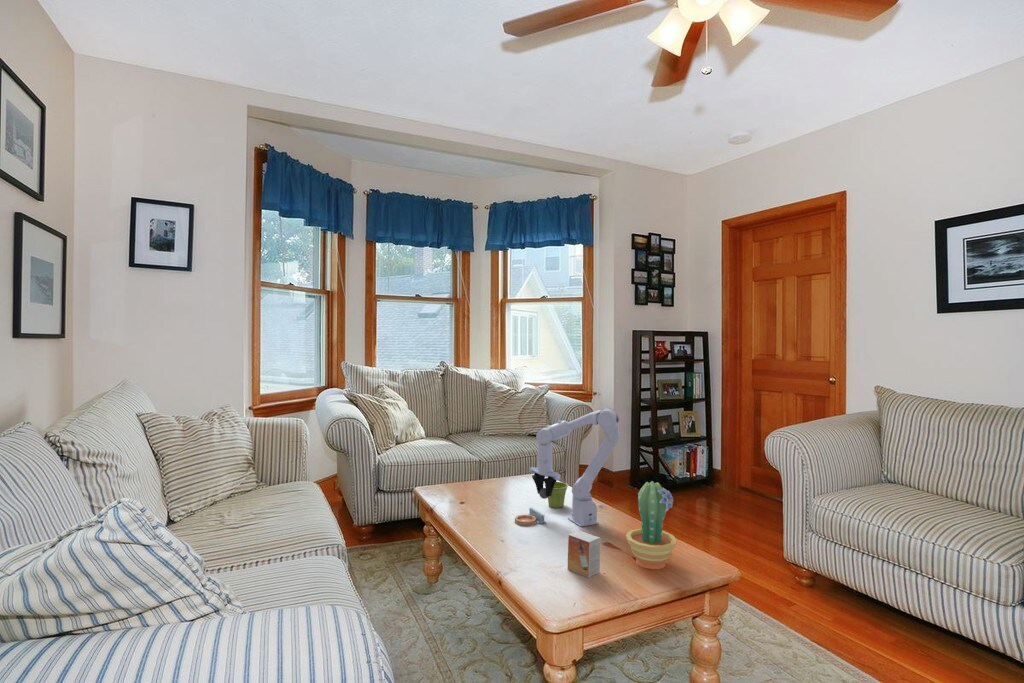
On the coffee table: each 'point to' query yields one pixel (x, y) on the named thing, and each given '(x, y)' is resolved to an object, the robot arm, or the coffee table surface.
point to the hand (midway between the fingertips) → (544, 494)
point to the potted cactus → (652, 528)
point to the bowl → (525, 520)
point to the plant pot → (557, 495)
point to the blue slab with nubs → (537, 515)
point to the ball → (543, 493)
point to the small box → (584, 553)
